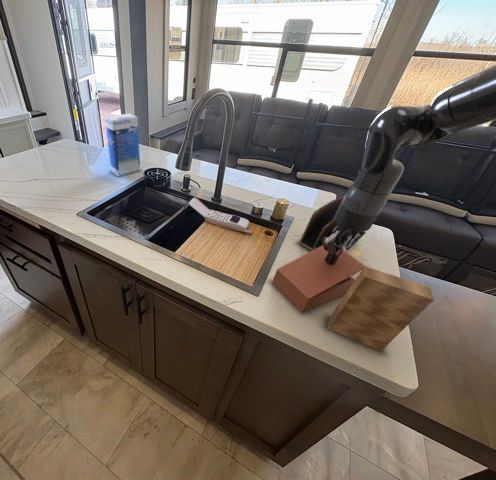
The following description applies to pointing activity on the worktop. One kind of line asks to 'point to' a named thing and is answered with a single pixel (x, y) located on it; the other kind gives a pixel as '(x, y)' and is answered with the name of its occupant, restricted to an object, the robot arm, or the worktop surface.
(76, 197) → the worktop surface
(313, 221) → the letter holder
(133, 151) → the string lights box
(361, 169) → the robot arm
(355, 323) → the wooden block
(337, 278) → the cover
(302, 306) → the case
